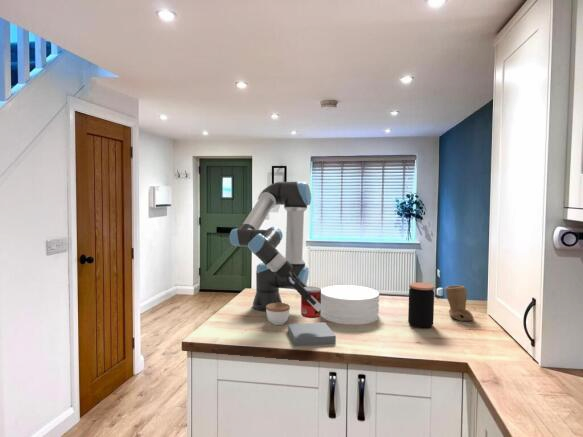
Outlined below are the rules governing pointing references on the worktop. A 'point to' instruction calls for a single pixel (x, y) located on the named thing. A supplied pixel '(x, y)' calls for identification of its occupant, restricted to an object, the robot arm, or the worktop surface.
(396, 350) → the worktop surface
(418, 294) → the coffee jar
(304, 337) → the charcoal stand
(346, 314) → the plate stack
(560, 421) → the worktop surface
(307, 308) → the canned food
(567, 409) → the worktop surface
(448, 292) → the brown boot
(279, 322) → the lidded jar
